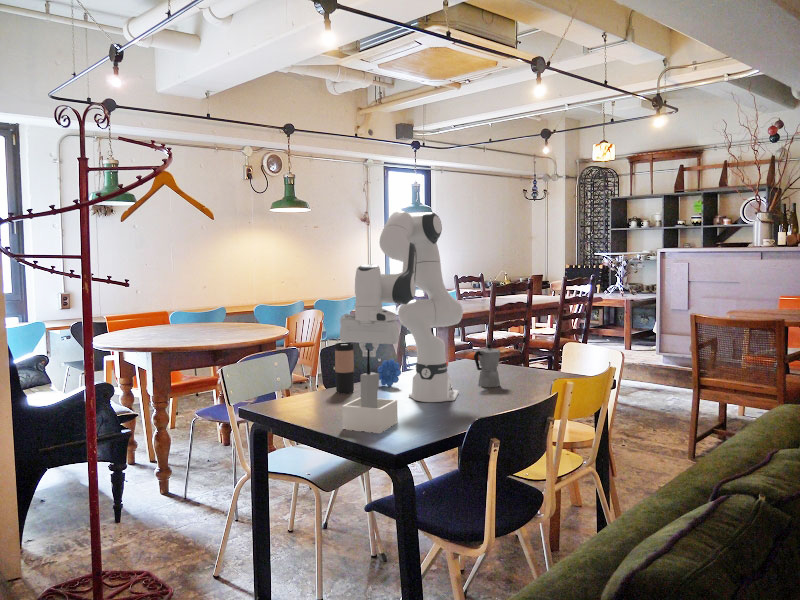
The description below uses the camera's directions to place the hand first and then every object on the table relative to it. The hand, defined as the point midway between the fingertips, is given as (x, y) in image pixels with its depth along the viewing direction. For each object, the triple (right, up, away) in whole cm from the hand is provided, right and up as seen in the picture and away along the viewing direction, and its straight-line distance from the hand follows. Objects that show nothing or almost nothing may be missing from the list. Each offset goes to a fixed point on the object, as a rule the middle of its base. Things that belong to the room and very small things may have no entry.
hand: (369, 356), depth 213 cm
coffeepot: (+47, -18, +64) cm, 82 cm away
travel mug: (-13, -20, +56) cm, 61 cm away
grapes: (+6, -19, +66) cm, 69 cm away
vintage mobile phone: (0, -23, +1) cm, 23 cm away
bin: (0, -23, +2) cm, 23 cm away
